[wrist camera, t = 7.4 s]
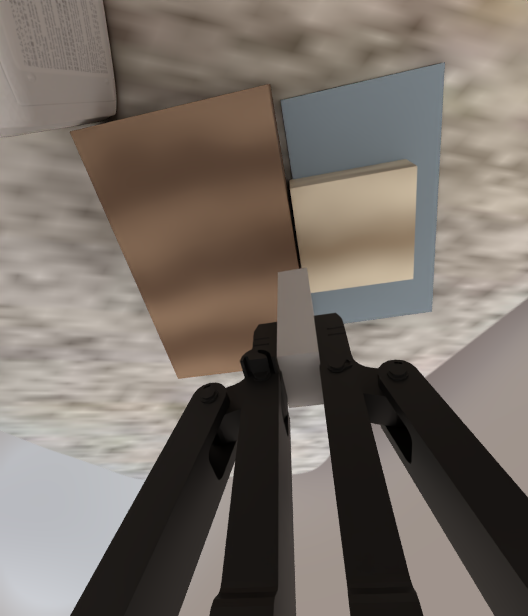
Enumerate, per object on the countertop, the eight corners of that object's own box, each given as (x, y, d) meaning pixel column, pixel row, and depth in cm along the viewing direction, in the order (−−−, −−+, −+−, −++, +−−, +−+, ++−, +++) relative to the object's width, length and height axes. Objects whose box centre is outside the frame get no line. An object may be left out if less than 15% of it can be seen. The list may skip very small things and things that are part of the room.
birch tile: (289, 180, 25) (290, 188, 23) (405, 158, 24) (417, 166, 22) (303, 278, 29) (305, 293, 27) (403, 264, 28) (413, 279, 26)
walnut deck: (99, 125, 24) (69, 131, 21) (270, 84, 23) (267, 84, 19) (188, 350, 35) (178, 378, 31) (310, 333, 33) (314, 362, 30)
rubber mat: (280, 100, 23) (280, 100, 23) (441, 63, 22) (444, 62, 21) (315, 324, 32) (315, 327, 32) (429, 308, 31) (431, 311, 31)
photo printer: (14, -97, 19) (-317, -319, 9) (93, -94, 19) (-143, -317, 8) (64, 120, 24) (-99, 146, 14) (126, 123, 24) (8, 151, 14)
